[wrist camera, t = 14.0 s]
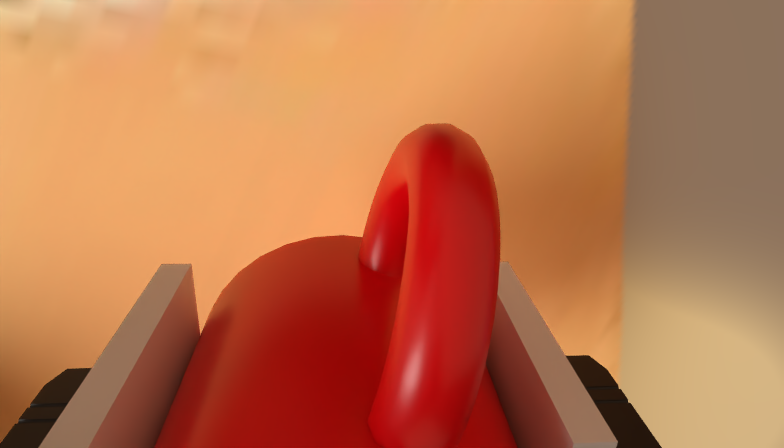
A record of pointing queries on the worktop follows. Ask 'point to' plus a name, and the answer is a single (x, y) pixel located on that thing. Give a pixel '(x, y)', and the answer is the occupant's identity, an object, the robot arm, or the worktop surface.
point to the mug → (362, 324)
